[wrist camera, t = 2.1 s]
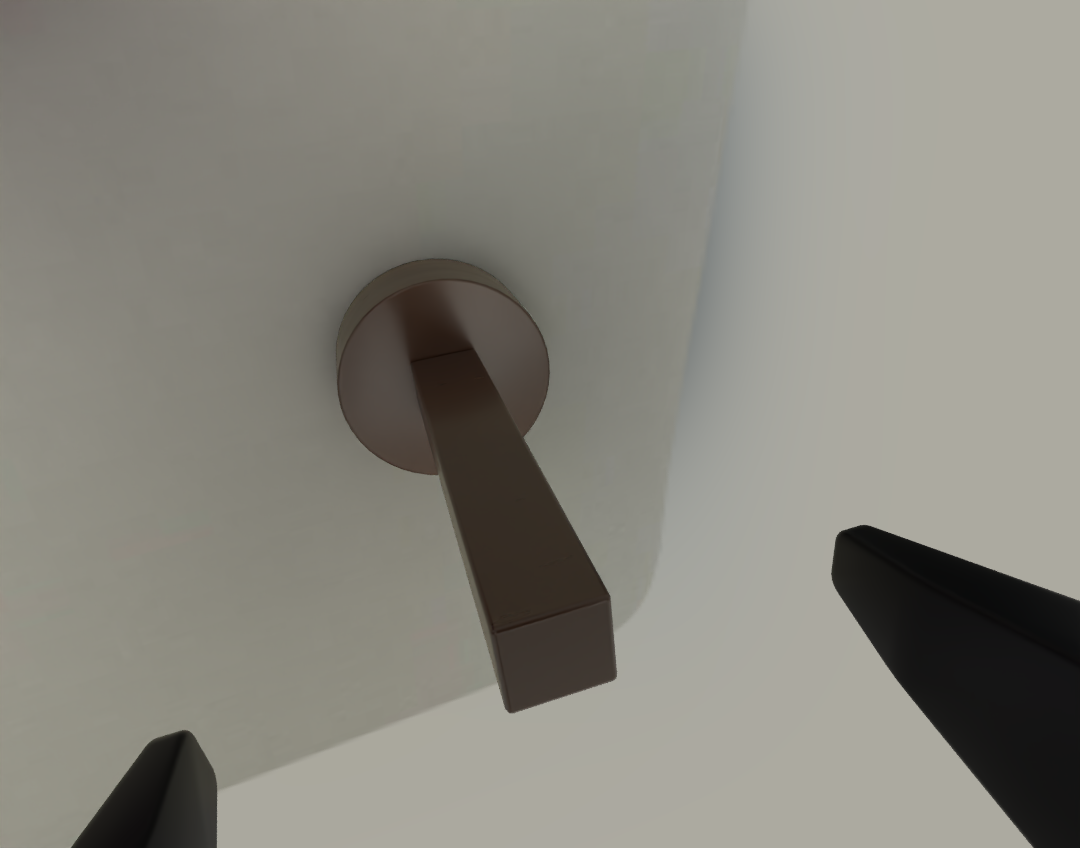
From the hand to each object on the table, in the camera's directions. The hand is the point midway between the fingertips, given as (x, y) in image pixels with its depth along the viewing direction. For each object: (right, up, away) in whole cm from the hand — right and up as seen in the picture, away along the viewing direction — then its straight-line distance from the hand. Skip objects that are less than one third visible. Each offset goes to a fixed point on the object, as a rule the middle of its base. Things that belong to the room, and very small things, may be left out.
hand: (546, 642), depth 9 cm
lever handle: (-3, +5, +9) cm, 11 cm away
